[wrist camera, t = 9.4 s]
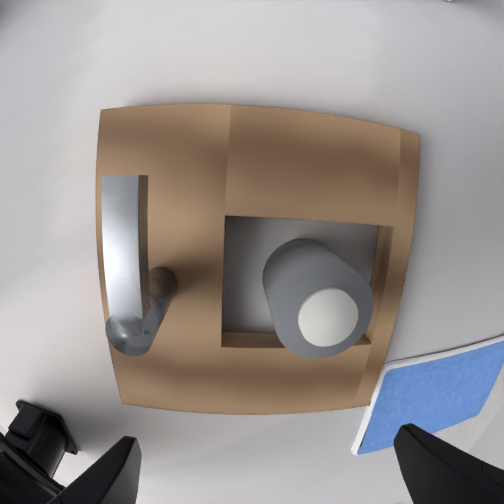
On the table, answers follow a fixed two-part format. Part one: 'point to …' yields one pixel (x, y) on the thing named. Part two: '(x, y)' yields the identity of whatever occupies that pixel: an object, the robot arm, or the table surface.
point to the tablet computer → (429, 393)
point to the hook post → (131, 267)
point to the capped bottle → (316, 299)
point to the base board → (254, 205)
